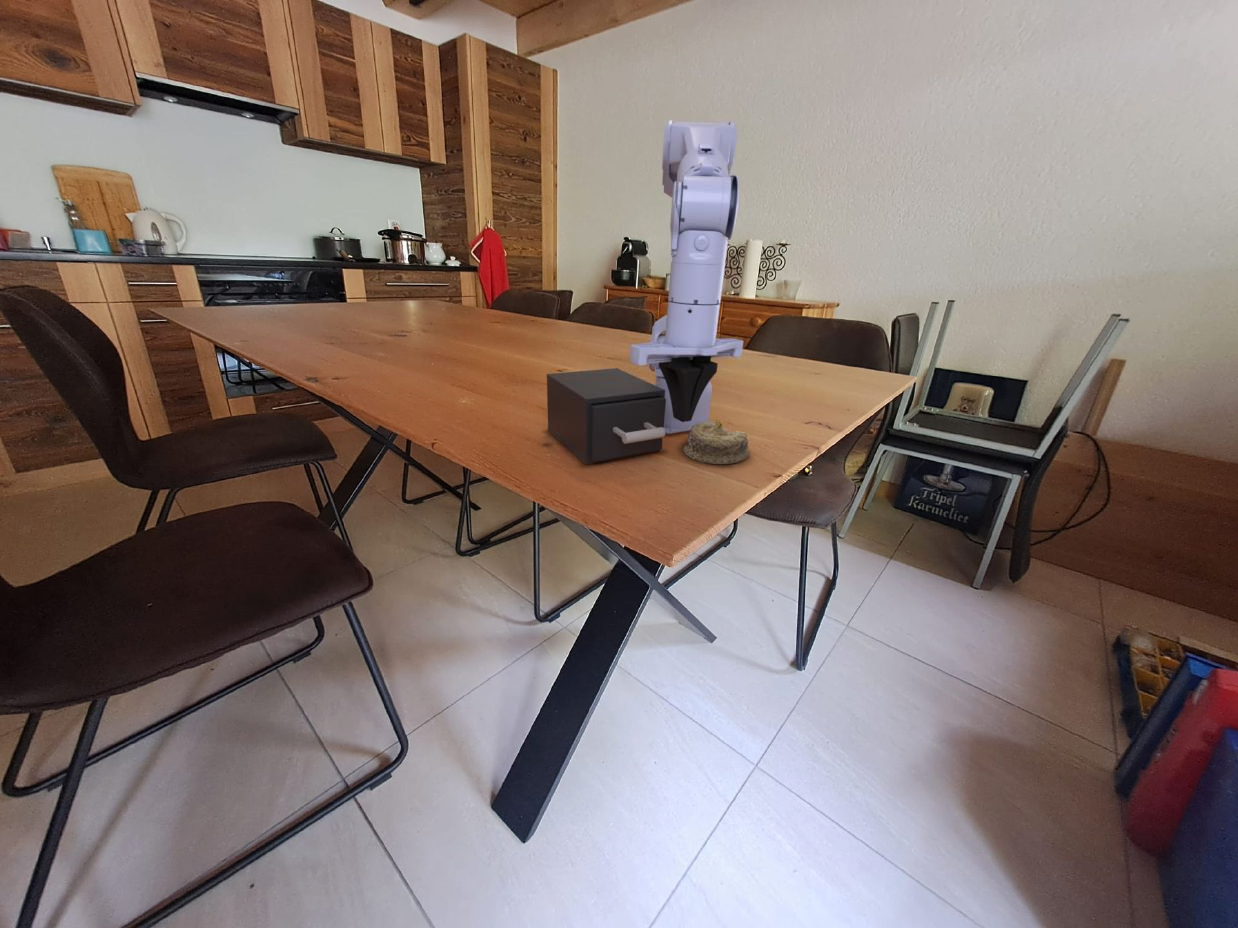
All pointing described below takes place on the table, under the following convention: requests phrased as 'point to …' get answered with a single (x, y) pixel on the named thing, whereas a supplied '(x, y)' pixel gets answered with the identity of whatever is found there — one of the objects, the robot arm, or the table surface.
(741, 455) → the beige textured round mound
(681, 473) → the table surface
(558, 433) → the cabinet
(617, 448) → the drawer
